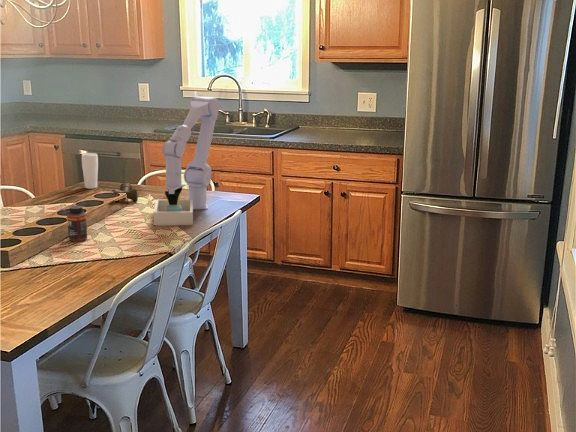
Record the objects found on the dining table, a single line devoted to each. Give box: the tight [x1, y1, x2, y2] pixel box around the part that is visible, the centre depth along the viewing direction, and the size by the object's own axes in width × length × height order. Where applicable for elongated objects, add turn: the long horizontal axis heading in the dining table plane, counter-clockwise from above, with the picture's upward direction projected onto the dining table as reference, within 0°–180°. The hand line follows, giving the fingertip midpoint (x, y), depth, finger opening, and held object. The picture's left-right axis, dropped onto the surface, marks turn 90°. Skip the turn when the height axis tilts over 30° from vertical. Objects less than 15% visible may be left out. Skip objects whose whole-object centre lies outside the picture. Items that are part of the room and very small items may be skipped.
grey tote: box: [153, 199, 194, 227], centre depth 235 cm, size 18×14×5 cm
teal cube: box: [167, 205, 182, 212], centre depth 231 cm, size 5×5×5 cm
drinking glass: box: [81, 152, 99, 190], centre depth 273 cm, size 7×7×15 cm
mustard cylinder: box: [166, 193, 182, 205], centre depth 237 cm, size 5×5×7 cm
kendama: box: [112, 182, 139, 202], centre depth 259 cm, size 6×10×20 cm
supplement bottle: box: [66, 205, 88, 243], centre depth 206 cm, size 6×6×11 cm
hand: (174, 207), depth 238 cm, fingers closed on mustard cylinder, 5 cm apart
